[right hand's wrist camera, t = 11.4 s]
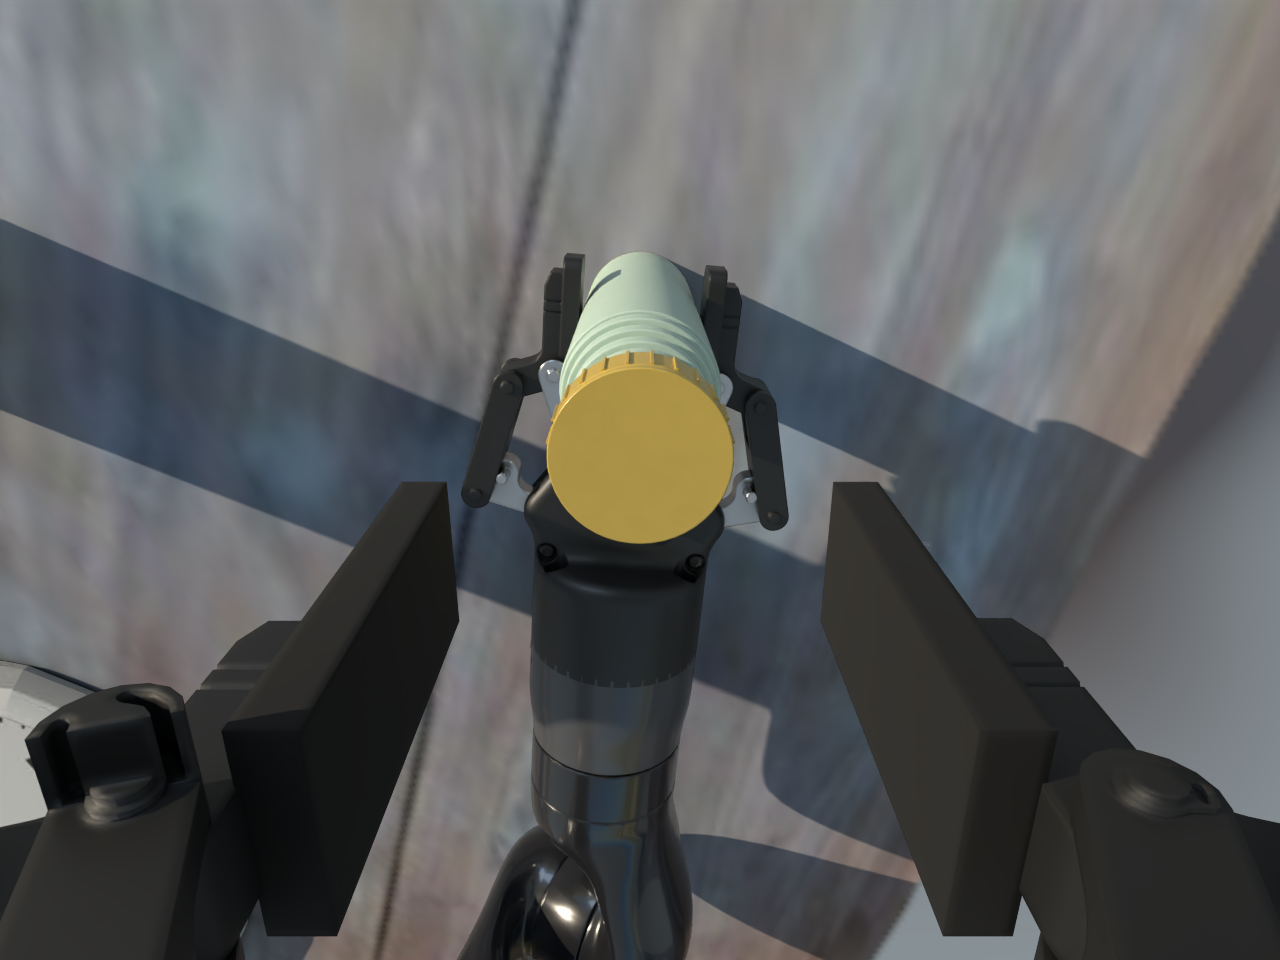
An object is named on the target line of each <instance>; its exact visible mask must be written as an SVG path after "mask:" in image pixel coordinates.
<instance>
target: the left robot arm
mask: <svg viewBox="0 0 1280 960" xmlns="http://www.w3.org/2000/svg"><path fill="white" fill-rule="evenodd" d="M584 274H585V254H573V253H567V254H566V255H565V257H564V264H563V268H553V269H552V271H551V272H550V274H549V276H548V279H547V281H546V283H545V286H544V313H543V339H542V350H541V351H540V352H539V353H538V354H536V355H533V356H530V357H526V358H523V359H519V358H512V359H509V360H507V361H506V362H505V363H504V364H503V366H502V368H501V370H500V372H499V373H498V374H497V375H496V377H495V378H494V380H493V382H492V386H491V389H490V393H489V396H488V400H487V403H486V407H485V410H484V414H483V417H482V421H481V424H480V428H479V431H478V435H477V438H476V442H475V445H474V449H473V452H472V456H471V459H470V463H469V466H468V470H467V473H466V477H465V480H464V484H463V487H462V491H461V496H462V499H463V501H464V502H465V503H466V504H467V505H469V506H471V507H474V508H480V507H483V506H485V505H486V504H487V503H488V502H492V503H495V504H498V505H502V506H505V507H508V508H511V509H515V510H518V511H521V512H524V516H525V519H526V522H527V524H528V525H529V527H530V529H531V531H532V533H533V536H534V540H535V558H534V583H533V608H532V634H531V661H530V695H531V704H532V711H533V745H532V769H531V798H532V808H533V812H534V815H535V818H536V820H537V822H538V825H537V826H535V827H533V828H532V829H531V830H529V831H528V832H526V833H525V834H524V835H523V836H522V837H521V838H520V839H519V840H518V841H517V842H516V843H515V844H514V846H513V847H512V848H511V850H510V851H509V853H508V855H507V857H506V859H505V860H504V862H503V864H502V866H501V868H500V870H499V873H498V875H497V877H496V879H495V882H494V884H493V886H492V889H491V891H490V893H489V896H488V898H487V900H486V903H485V905H484V907H483V909H482V912H481V914H480V916H479V918H478V920H477V922H476V924H475V926H474V928H473V930H472V932H471V934H470V936H469V938H468V940H467V942H466V944H465V945H464V947H463V949H462V951H461V953H460V955H459V957H458V959H457V960H686V957H687V953H688V949H689V944H690V938H691V932H692V918H693V905H692V893H691V885H690V879H689V874H688V869H687V864H686V860H685V855H684V850H683V845H682V841H681V836H680V831H679V825H678V819H677V814H676V810H675V806H674V801H673V792H674V783H675V776H676V767H677V759H678V751H679V743H680V735H681V730H682V726H683V722H684V719H685V716H686V713H687V709H688V705H689V700H690V695H691V689H692V681H693V673H694V665H695V657H696V649H697V641H698V633H699V625H700V617H701V609H702V601H703V593H704V585H705V577H706V569H707V561H708V556H709V552H710V550H711V548H712V546H713V545H714V543H715V542H716V540H717V539H718V538H719V537H720V535H721V534H722V532H723V529H724V527H729V526H736V525H742V524H749V523H755V522H760V523H761V525H762V526H763V527H764V528H765V529H767V530H771V531H775V530H779V529H781V528H783V527H784V526H785V525H786V524H787V522H788V518H789V515H788V506H787V498H786V489H785V480H784V471H783V463H782V454H781V445H780V436H779V428H778V419H777V410H776V403H775V401H774V399H773V397H772V395H771V394H770V392H769V390H768V388H767V386H766V384H765V383H764V382H763V381H762V380H760V379H758V378H751V377H749V376H747V375H744V374H742V373H740V372H739V371H737V370H736V369H735V367H734V362H735V354H736V346H737V338H738V330H739V322H740V314H741V306H742V300H741V296H740V292H739V289H738V287H737V286H736V284H735V283H728V282H727V270H726V269H725V267H722V266H710V265H706V268H705V274H704V283H703V293H702V302H701V311H700V319H701V321H702V324H703V327H704V330H705V332H706V335H707V338H708V340H709V343H710V346H711V348H712V351H713V354H714V356H715V359H716V362H717V365H718V368H719V373H720V378H721V398H720V403H721V404H723V403H724V405H725V406H727V407H729V408H732V409H734V410H736V411H738V412H740V413H741V415H742V423H743V431H744V438H745V446H746V454H747V461H748V469H749V470H746V471H742V472H740V473H738V474H737V475H736V476H735V478H734V480H733V489H732V492H731V493H730V495H729V496H727V497H726V498H724V499H721V501H720V503H719V504H718V505H717V507H716V508H715V509H714V511H713V512H712V513H711V514H710V515H709V516H708V517H707V518H706V519H705V520H704V521H702V522H701V523H700V524H699V525H697V526H696V527H694V528H693V529H691V530H689V531H688V532H686V533H684V534H682V535H680V536H677V537H675V538H672V539H669V540H665V541H661V542H656V543H646V544H635V543H625V542H620V541H615V540H612V539H609V538H606V537H603V536H601V535H599V534H597V533H595V532H593V531H591V530H590V529H588V528H586V527H585V526H583V525H582V524H581V523H580V522H578V521H577V520H576V519H575V518H574V517H573V516H572V515H571V514H570V513H569V512H568V511H567V510H566V508H565V507H564V506H563V504H562V503H561V502H560V500H559V498H558V496H557V495H556V493H555V491H554V488H553V486H552V483H551V480H550V476H549V473H548V468H547V469H546V470H545V471H544V472H543V474H542V475H541V476H540V477H539V478H538V479H537V480H536V482H535V483H534V484H533V485H529V484H528V483H526V482H525V481H524V480H523V478H522V476H521V461H520V459H519V458H518V457H517V456H516V455H515V454H513V453H511V452H508V448H509V444H510V441H511V438H512V434H513V431H514V428H515V425H516V421H517V418H518V415H519V411H520V408H521V405H522V401H523V398H524V396H527V395H531V394H535V393H538V392H542V391H543V393H544V397H545V400H546V403H547V406H548V409H549V412H550V416H551V419H552V416H553V413H554V410H555V407H556V405H557V404H558V405H559V404H560V394H559V384H560V376H561V370H562V367H563V364H564V361H565V358H566V355H567V352H568V350H569V347H570V344H571V342H572V339H573V336H574V333H575V331H576V328H577V325H578V322H579V320H580V317H581V314H582V310H583V292H584ZM552 425H553V422H552Z"/></svg>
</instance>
